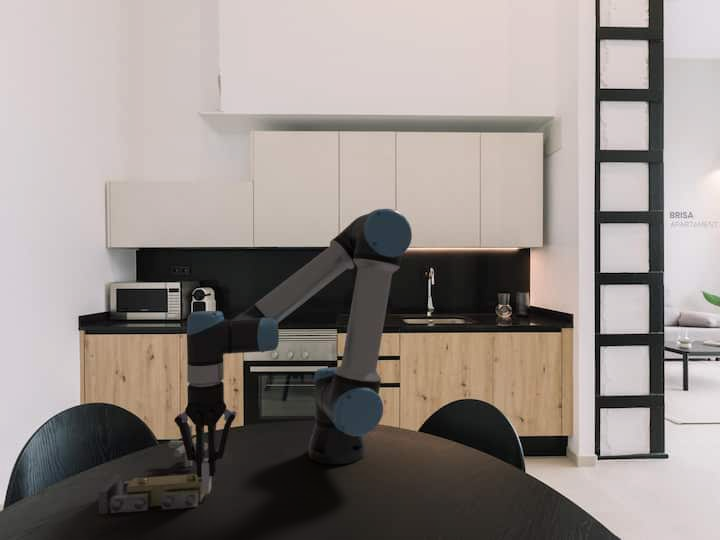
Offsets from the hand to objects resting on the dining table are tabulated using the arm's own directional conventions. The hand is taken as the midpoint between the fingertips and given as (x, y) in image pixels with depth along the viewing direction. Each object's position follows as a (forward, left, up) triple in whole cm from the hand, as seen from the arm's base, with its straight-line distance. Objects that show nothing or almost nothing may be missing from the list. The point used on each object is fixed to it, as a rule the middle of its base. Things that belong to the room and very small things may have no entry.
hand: (206, 490), depth 99 cm
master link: (+8, 0, -2) cm, 8 cm away
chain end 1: (+16, 0, -2) cm, 16 cm away
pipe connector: (+8, -18, -2) cm, 20 cm away
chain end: (+5, 0, -2) cm, 5 cm away
